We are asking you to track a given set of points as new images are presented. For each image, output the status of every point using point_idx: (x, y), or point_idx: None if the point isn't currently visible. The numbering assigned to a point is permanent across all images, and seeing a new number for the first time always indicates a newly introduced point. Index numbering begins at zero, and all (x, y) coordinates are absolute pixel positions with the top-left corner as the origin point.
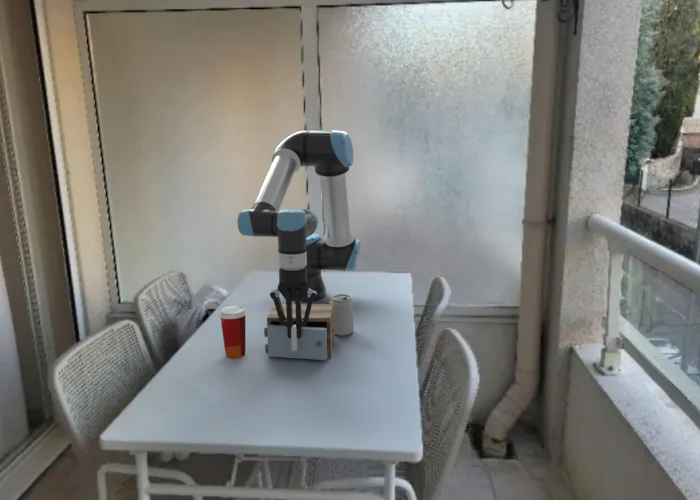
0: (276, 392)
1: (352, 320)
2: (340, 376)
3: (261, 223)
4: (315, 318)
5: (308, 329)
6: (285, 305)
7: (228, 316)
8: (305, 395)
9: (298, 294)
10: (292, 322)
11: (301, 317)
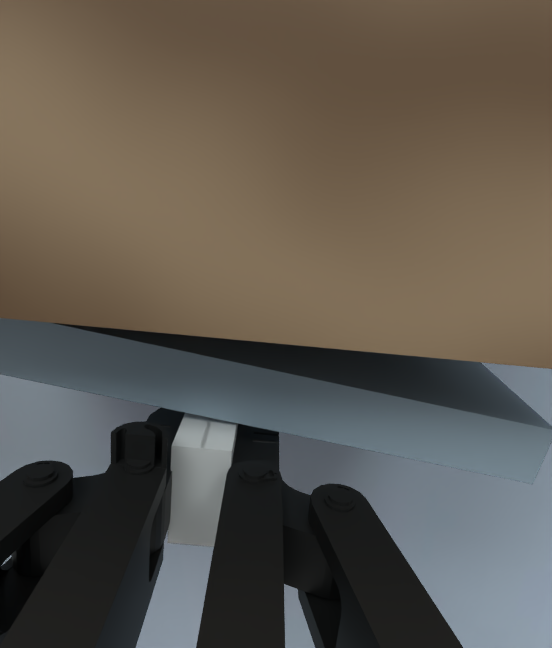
0: (174, 615)
1: None
2: (482, 501)
3: None
4: (475, 359)
5: (353, 444)
6: None
7: None
8: (304, 644)
9: None
10: (164, 482)
11: (282, 533)
